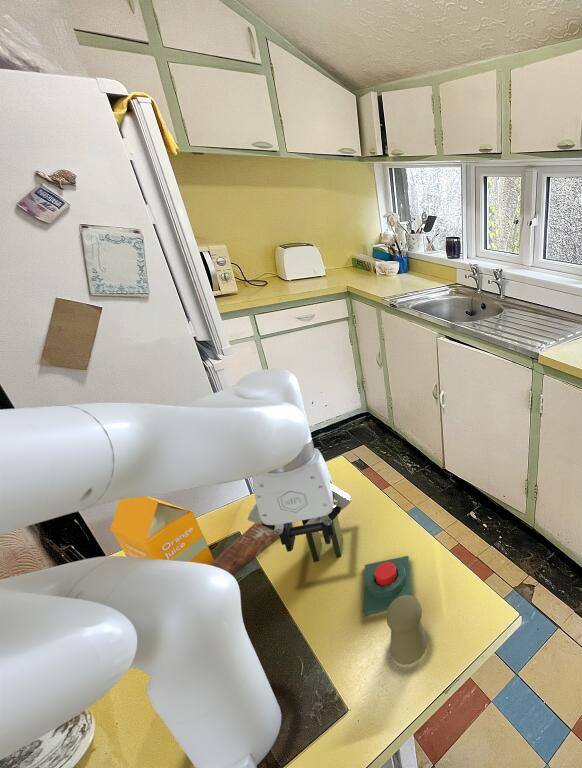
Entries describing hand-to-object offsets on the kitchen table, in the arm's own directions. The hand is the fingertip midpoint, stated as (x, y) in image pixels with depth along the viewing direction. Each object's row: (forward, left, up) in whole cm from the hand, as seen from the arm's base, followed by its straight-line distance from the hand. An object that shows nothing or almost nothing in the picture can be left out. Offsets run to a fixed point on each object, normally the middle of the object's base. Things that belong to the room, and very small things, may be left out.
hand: (310, 540), depth 68 cm
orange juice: (+11, +26, -14) cm, 31 cm away
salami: (+12, +15, -14) cm, 23 cm away
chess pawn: (-14, -14, -14) cm, 24 cm away
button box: (-2, -11, -13) cm, 18 cm away
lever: (+4, 0, -1) cm, 4 cm away
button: (-2, -11, -10) cm, 15 cm away
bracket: (+9, 0, -13) cm, 16 cm away
